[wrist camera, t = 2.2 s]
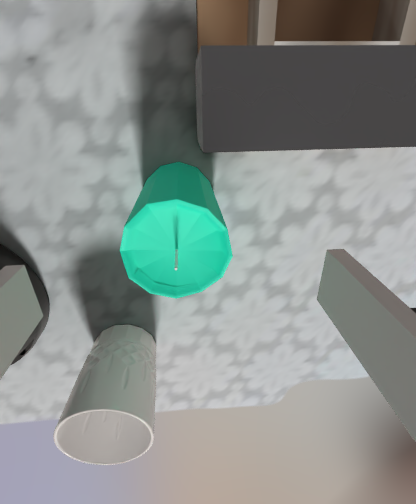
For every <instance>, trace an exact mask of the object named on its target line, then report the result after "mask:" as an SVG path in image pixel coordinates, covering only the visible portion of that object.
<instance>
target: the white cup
mask: <svg viewBox="0 0 416 504" xmlns="http://www.w3.org/2000/svg"><path fill="white" fill-rule="evenodd" d="M155 361H156V344H155V341H154V339H153V337H152V335H150V334H149V333H148V332H146V331H145V330H144V329H143V328H140V327H136V326H133V325H129V324H127V325H114V326H112V327H110V328H108V329H106V330H103V331H102V332H101V334H100V335H99V336H98V337H97V339H96V340H95V342H94V345H93V347H92V350H91V352H90V354H89V355H88V357H87V359H86V361H85V363H84V365H83V368H82V370H81V372H80V374H79V376H78V378H77V380H76V383H75V385H74V387H73V389H72V392H71V394H70V396H69V399H68V401H67V403H66V405H65V408H64V410H63V412H62V415H61V417H60V419H59V422H58V424H57V426H56V428H55V430H54V442H55V444H56V446H57V447H58V449H59V450H60V451H61V452H63V453H64V454H65V455H67V456H68V457H70V458H72V459H75V460H77V461H80V462H84V463H89V464H96V465H112V464H120V463H124V462H128V461H131V460H133V459H136V458H138V457H140V456H141V455H143V454H144V453H145V452H146V451H148V449H149V448H150V447H151V445H152V443H153V440H154V419H155V397H156V365H155Z"/></svg>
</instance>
